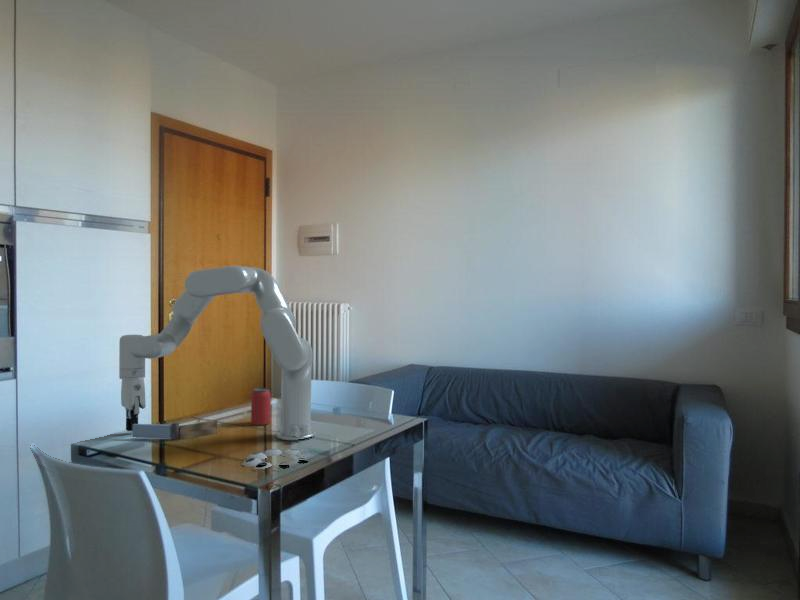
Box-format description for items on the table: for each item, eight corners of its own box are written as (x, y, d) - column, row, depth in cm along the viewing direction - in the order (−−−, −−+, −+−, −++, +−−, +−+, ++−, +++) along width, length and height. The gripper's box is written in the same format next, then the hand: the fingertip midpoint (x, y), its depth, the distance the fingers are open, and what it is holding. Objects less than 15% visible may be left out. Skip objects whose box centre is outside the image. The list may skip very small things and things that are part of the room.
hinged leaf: (171, 437, 175) (172, 424, 175) (170, 438, 174) (170, 425, 174) (134, 436, 175) (134, 423, 175) (132, 437, 174) (132, 424, 174)
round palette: (327, 457, 159) (327, 450, 159) (288, 478, 141) (288, 470, 141) (269, 449, 166) (269, 443, 166) (225, 468, 148) (225, 461, 148)
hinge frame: (214, 432, 184) (215, 417, 184) (217, 433, 182) (217, 418, 182) (170, 439, 174) (170, 423, 174) (173, 440, 173) (173, 424, 173)
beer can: (271, 424, 195) (272, 390, 195) (252, 426, 192) (252, 391, 192) (268, 420, 201) (269, 387, 201) (250, 422, 199) (250, 388, 198)
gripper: (152, 374, 177) (152, 432, 177) (137, 369, 188) (136, 424, 188) (127, 377, 172) (126, 436, 172) (112, 371, 183) (112, 427, 183)
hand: (132, 430), depth 180 cm, fingers closed
